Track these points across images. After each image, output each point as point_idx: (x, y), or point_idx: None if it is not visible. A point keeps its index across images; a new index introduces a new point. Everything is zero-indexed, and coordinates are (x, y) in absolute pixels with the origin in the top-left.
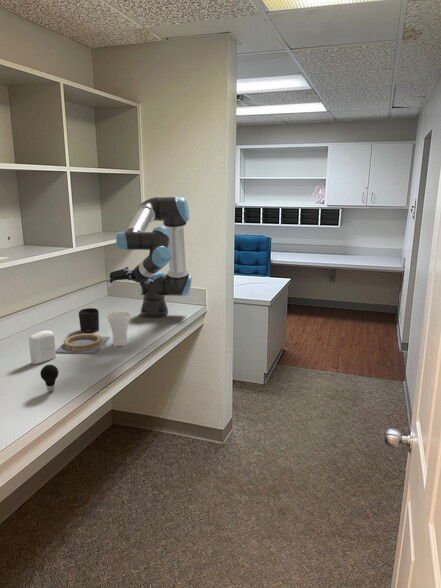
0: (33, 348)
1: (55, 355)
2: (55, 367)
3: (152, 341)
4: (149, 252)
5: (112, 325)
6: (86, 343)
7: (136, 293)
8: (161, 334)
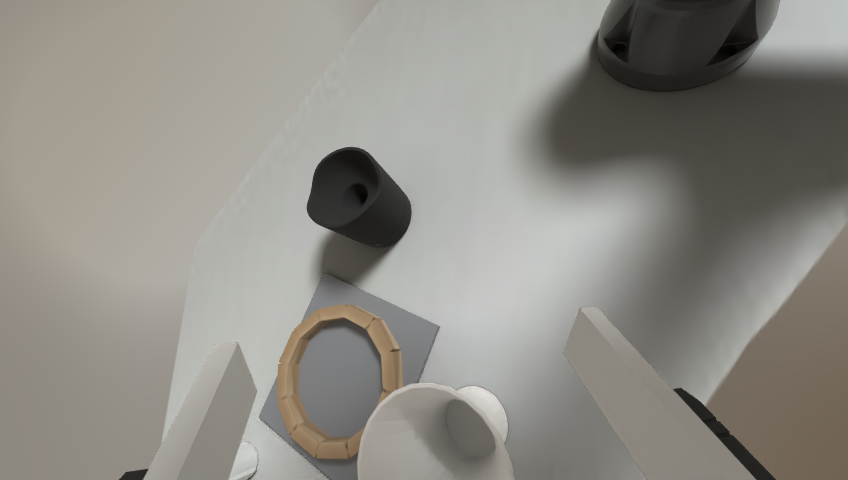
0: None
1: (250, 474)
2: None
3: None
4: None
5: None
6: (351, 375)
7: (598, 360)
8: (711, 366)
